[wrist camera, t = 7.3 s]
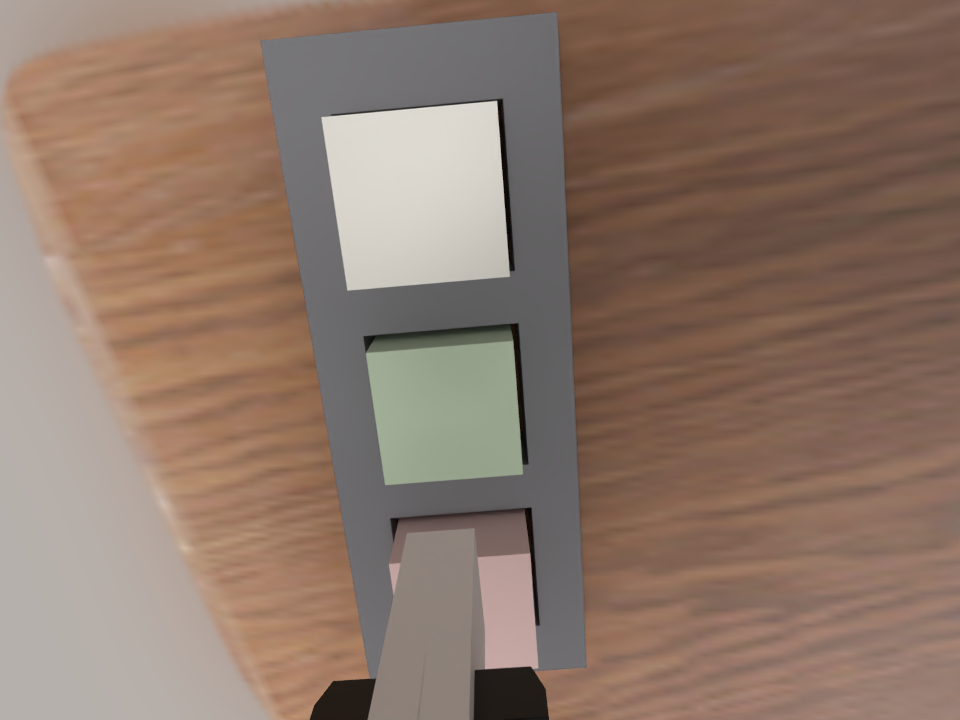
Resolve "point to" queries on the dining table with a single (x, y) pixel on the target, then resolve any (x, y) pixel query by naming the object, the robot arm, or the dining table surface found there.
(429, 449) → the sage button
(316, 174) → the button panel
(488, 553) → the rose button
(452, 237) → the white button
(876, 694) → the dining table surface
